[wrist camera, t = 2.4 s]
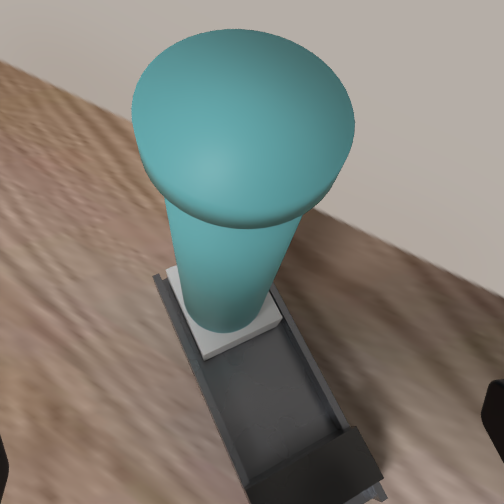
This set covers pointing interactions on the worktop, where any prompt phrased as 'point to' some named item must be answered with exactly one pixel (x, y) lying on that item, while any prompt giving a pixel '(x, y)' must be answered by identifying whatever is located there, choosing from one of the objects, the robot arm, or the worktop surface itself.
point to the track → (279, 416)
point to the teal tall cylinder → (237, 168)
